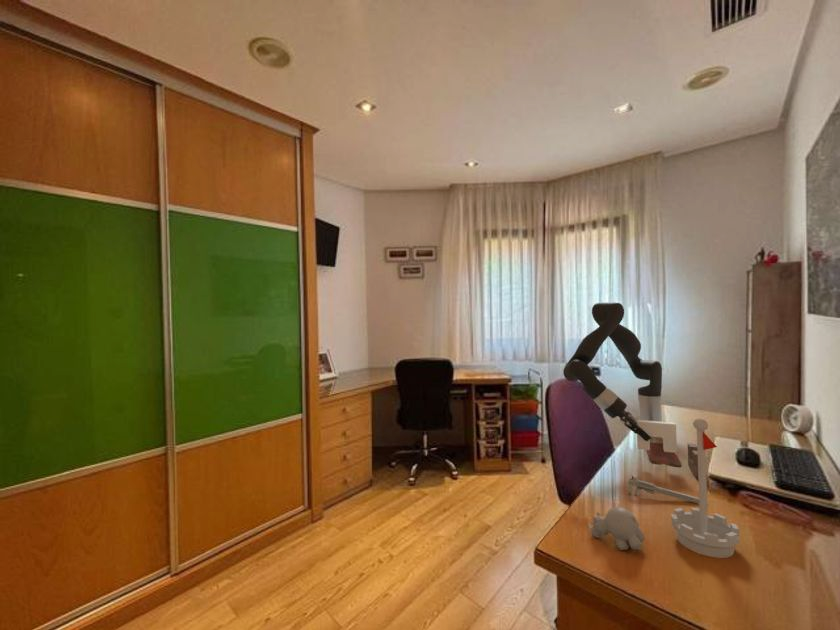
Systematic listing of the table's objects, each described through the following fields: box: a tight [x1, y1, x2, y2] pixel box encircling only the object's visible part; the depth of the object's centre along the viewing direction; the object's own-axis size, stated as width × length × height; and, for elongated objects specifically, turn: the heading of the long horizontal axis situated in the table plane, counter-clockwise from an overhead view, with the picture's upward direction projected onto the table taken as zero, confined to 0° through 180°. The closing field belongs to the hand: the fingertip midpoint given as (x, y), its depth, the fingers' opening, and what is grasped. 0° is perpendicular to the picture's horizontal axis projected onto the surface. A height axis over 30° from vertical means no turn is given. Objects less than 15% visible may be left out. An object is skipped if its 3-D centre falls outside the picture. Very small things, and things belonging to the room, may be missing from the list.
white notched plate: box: [636, 419, 678, 454], centre depth 136 cm, size 2×12×10 cm, turn 64°
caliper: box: [627, 474, 709, 506], centre depth 113 cm, size 20×1×6 cm, turn 69°
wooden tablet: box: [646, 442, 682, 468], centre depth 150 cm, size 27×10×2 cm, turn 154°
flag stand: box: [670, 417, 740, 559], centre depth 91 cm, size 13×13×30 cm
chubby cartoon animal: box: [587, 506, 646, 551], centre depth 93 cm, size 7×12×8 cm, turn 46°
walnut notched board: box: [687, 442, 699, 480], centre depth 131 cm, size 12×2×8 cm, turn 154°
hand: (648, 438), depth 137 cm, fingers closed on white notched plate, 2 cm apart
